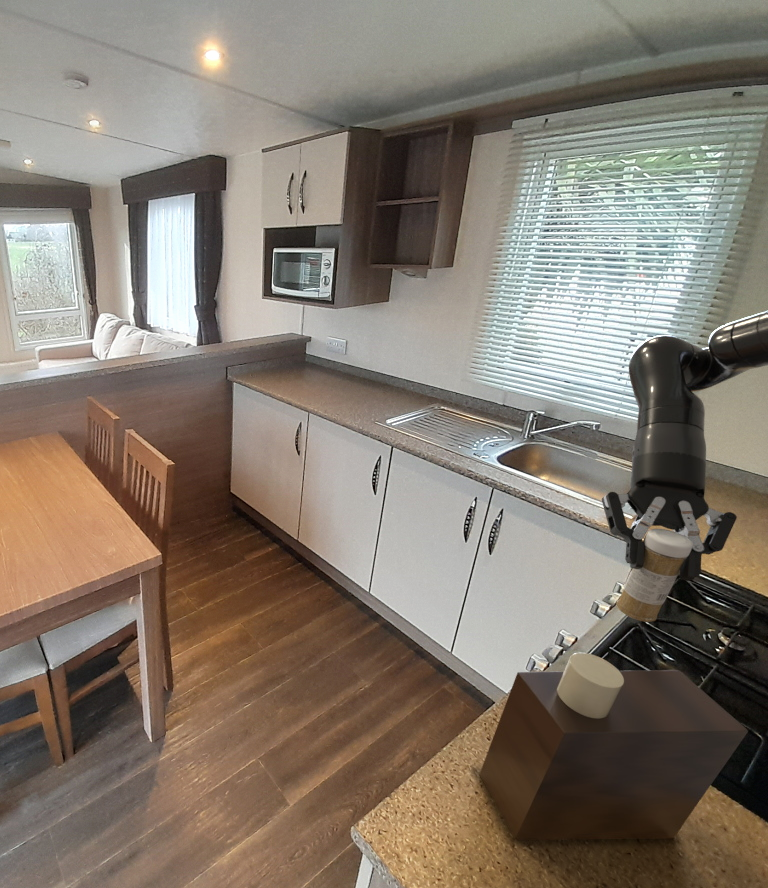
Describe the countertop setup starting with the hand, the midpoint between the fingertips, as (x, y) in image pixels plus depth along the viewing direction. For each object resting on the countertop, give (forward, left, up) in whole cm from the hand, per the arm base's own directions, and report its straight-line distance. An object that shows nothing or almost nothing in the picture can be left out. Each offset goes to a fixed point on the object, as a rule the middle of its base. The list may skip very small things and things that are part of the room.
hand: (661, 573), depth 65 cm
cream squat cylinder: (+6, +23, -7) cm, 25 cm away
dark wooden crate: (+2, +20, -28) cm, 34 cm away
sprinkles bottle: (0, -2, -9) cm, 9 cm away
